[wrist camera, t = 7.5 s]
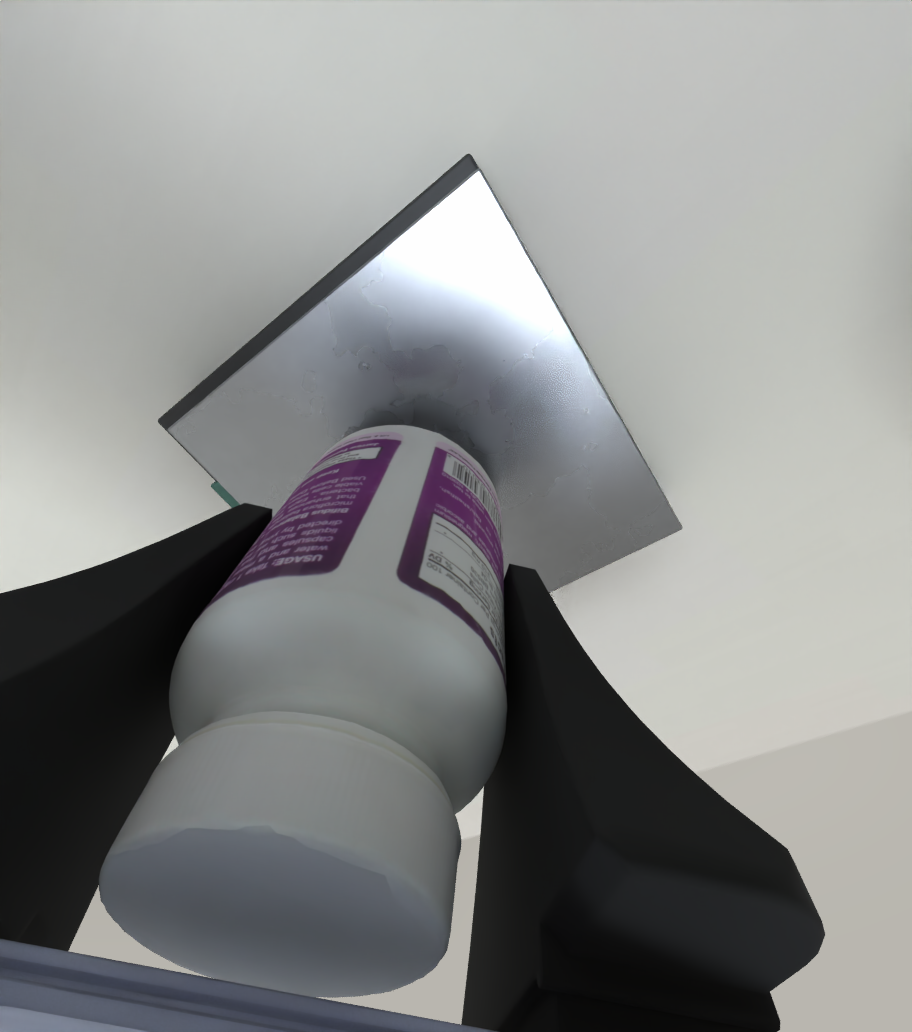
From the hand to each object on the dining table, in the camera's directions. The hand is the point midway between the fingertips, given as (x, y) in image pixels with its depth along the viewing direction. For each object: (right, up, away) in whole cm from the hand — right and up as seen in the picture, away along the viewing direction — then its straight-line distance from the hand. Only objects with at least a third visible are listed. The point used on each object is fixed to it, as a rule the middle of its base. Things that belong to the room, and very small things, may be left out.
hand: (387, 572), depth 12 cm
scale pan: (+1, +3, +4) cm, 5 cm away
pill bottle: (0, +2, +3) cm, 3 cm away
